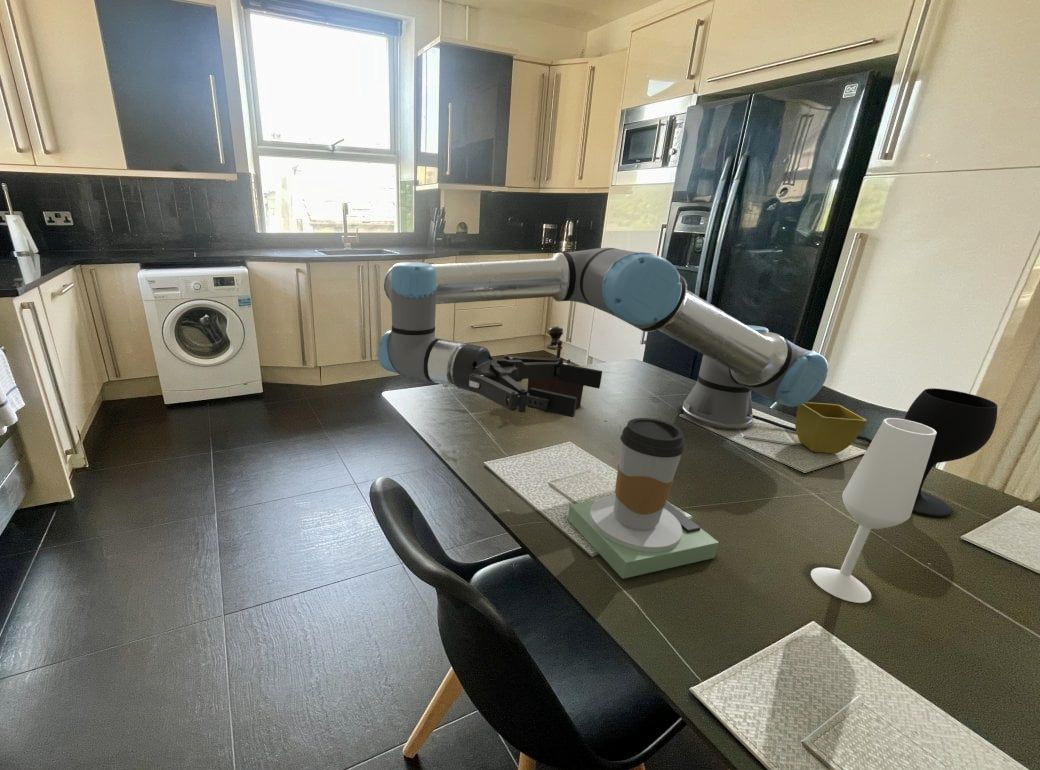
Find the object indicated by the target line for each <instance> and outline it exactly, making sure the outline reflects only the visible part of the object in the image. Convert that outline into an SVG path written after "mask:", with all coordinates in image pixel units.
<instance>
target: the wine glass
mask: <svg viewBox="0 0 1040 770" xmlns="http://www.w3.org/2000/svg"><path fill="white" fill-rule="evenodd" d="M904 420H909V421H913V422H917V423H920V424H923V425H926V426H928V427H931V428H933V429H934V430H935V431H936V432H937V434H936V437H935V440H934V443H933V446H932V450H931V453H930V456H929V459H928V462H927V465H926V469H925V472H924V475H923V478H922V481H921V485H920V488H919V491H918V494H917V497H916V500H915V504H914V507H913V510H912V513H911V514H915V515H919V516H924V517H930V518H947V517H949V516H950V515H951V514H952V509H951V507H950V505H948V504H947V503H946V502H945V501H943V500H942V499H940V498H938V497H936V496H935V495H932V494H931V493H928V492H925V491H923V490H922V488H923V486H924V483H925V480H926V479H927V477H928V475H929V473H930V472H931V470H932V469H933V467H934V466H935V465H937V464H940V463H945V462H946V463H947V462H952V461H957V460H961V459H965V458H966V457H969V456H971V455H973V454H975V453H977V452H978V451H979V450H981V449H982V448H983V447H984V446H985V445H986V444H987V443H988V442H989V441H990V438H991V437H992V435H993V433H994V431H995V427H996V424H997V420H998V404H997V403H996V402H995V401H992V400H990V399H987V398H985V397H982V396H979V395H975V394H971V393H968V392H965V391H964V392H963V391H958V390H952V389H947V388H946V389H945V388H934V387H933V388H931V387H930V388H925V389H924V390H922V392H920V394H919V395H918V396H917V397H915V399H914V400H913V402H912V403H911V404H910V406H909V408H908V410H907V411H906V413H905V416H904Z"/></svg>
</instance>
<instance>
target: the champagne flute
mask: <svg viewBox="0 0 1040 770" xmlns="http://www.w3.org/2000/svg"><path fill="white" fill-rule="evenodd" d="M904 419H905V418H904ZM904 419H903V418H899V417H898V418H896V417H887V418H884V419H883V420H882V423H881V424H880V426H879V427H878V430H877V431H876V432H875V435H874V436H873V438H872V439H871V440H872V442H871V444H870V443H869V446H868V447H867V449H866V450H865V452H864V454H863V456H862V458H861V460H860V462H859V463H858V465H857V467H856V469H854V472H853V474H852V476H851V478H850V479H849V481H848V483H847V484H846V486H845V488H844V490H843V491H842V494H841V495H842V496H841V499H842V502H843V504H844V506H845V509H846V511H847V512H848V513H849V515H850V516H851V517H852V519H853V520H854V521H855V522H856V523H857V524H859V526H858V527H857V530H856V532H855V535H854V537H853V539H852V542H851V544H850V547H849V548H848V551H847V553H846V555H845V558H844V561H843V563H842V565H841V566H840V569H836V568H831V567H823V566H821V567H815V568H813V569H812V570H811V571H810V576H811V579H812V581H813V582H814V583H815V584H816V585H817V586H818V587H819V588H821V589H822V590H823V591H825V592H826V593H828V594H829V595H832V596H834V597H835V598H838V599H841V600H843V601H847V602H852V603H857V604H863V603H865V604H866V603H868V602H870V601H871V600H872V593H871V591H870V589H869V588H868V587H867V586H866V585H865V584H864V583H862V582H861V581H860V580H859V579H857V578H856V577H855V576H854V575H852V573H853V571H854V568H855V566H856V564H857V562H858V560H859V557H860V556H861V553H862V550H863V548H864V546H865V545H866V541H867V539H868V537H869V535H870V533H871V530H879V529H880V530H881V529H886V528H892V527H895V526H898V525H901V524H903V523H905V522H907V521H908V520H909V519H910V518H911V516H912V514H913V513H912V510H913V507H914V504H915V500H916V497H917V494H918V491H919V488H920V485H921V481H922V478H923V475H924V472H925V469H926V465H927V462H928V459H929V456H930V453H931V450H932V446H933V443H934V440H935V437H936V434H937V432H936V431H935V430H934V429H933V428H931V427H928V426H926V425H923V424H920V423H917V422H913V421H909V420H904Z"/></svg>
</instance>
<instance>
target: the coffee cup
mask: <svg viewBox="0 0 1040 770" xmlns="http://www.w3.org/2000/svg"><path fill="white" fill-rule="evenodd" d="M620 441H621V445H620V454H619V460H618V465H617V470H616V471H617V472H616V480H615V488H614V489H615V490H614V495H615V502H614V510H613V511H614V514H615V517H616V519H617V520H618V521H619V522H620V523H621V524H622V525H624V526H626V527H628V528H631V529H634V530H639V531H647V530H651V529H653V528H654V527H655V526H656V525H657V524H658V523H659V520H660V517H661V514H662V511H663V508H664V506H665V504H666V501H667V500H668V497H669V495H670V492H671V488H672V486H673V484H674V483H673V482H674V480H675V474H676V471H677V469H678V466H679V463H680V460H681V457H682V455H683V454H684V453H685V445H686V440H685V438H684V432H683V429H681V428H680V427H679V426H676V425H675V424H673V423H670V422H668V421H665V420H662V419H657V418H651V417H650V418H649V417H635V418H632V419H630V420H628V422H627V424H626V425H625V426H624V428H623V430H622V434H621V435H620ZM667 502H668V501H667Z"/></svg>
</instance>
